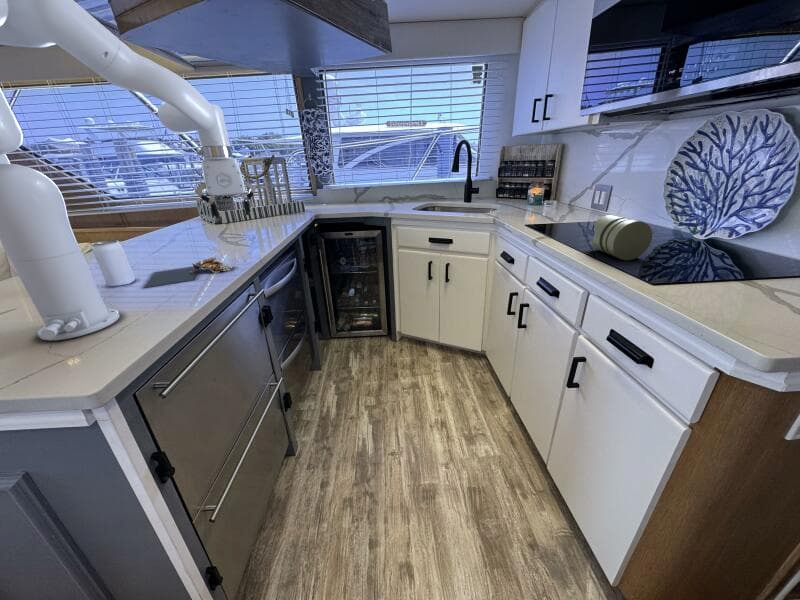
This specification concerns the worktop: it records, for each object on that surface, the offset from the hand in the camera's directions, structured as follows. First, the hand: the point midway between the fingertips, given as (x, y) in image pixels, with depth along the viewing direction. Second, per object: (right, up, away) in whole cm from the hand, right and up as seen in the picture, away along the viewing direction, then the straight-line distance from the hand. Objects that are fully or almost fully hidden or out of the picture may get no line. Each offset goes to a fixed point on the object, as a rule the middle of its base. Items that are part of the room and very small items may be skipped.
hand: (232, 215), depth 99 cm
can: (-29, -22, -6) cm, 37 cm away
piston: (+119, -12, +1) cm, 120 cm away
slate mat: (-17, -19, -2) cm, 26 cm away
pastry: (-7, -17, +3) cm, 18 cm away
